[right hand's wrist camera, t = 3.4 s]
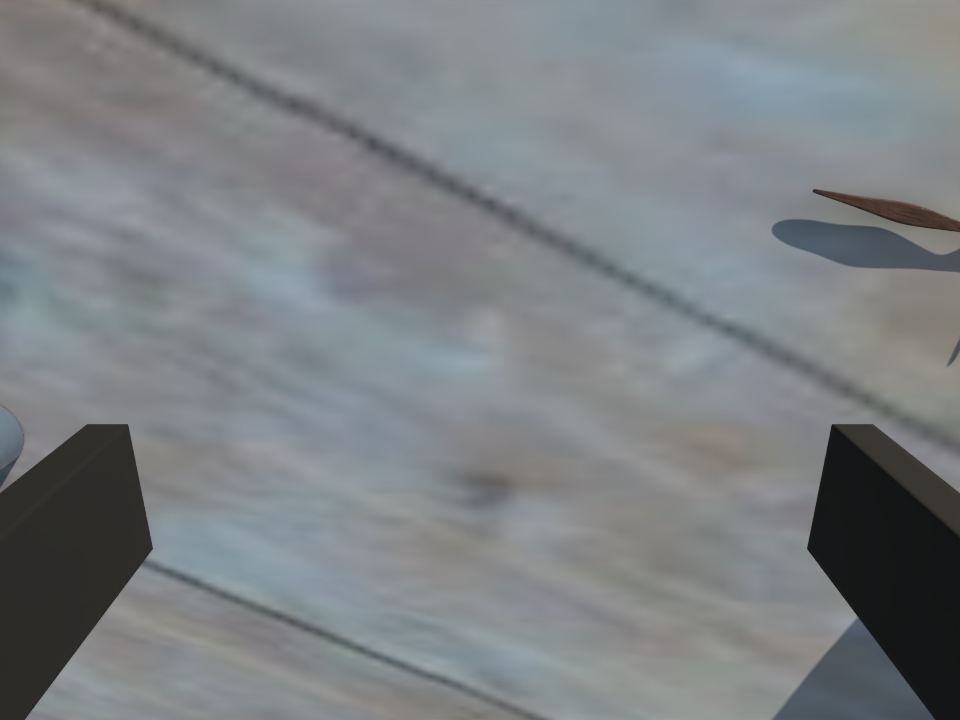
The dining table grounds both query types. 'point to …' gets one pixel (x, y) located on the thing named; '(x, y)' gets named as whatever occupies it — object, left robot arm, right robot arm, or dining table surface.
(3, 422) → the bottle
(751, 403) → the dining table surface
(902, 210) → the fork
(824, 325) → the dining table surface
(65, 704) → the dining table surface
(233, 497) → the dining table surface
